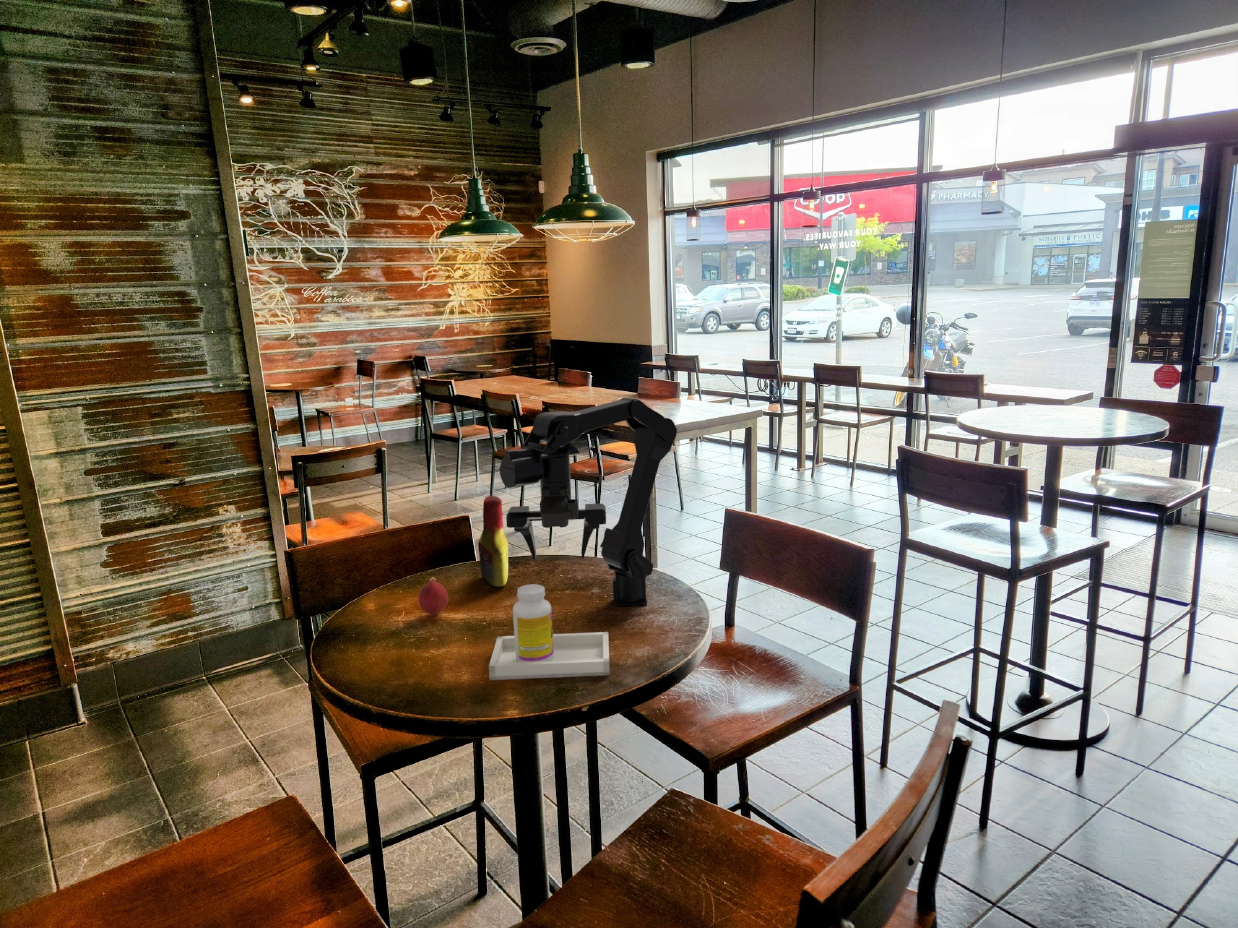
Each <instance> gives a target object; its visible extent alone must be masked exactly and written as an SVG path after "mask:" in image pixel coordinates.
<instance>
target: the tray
mask: <svg viewBox="0 0 1238 928" xmlns="http://www.w3.org/2000/svg"><path fill="white" fill-rule="evenodd" d="M609 640H610V639H609V632H608V631H603V632H602V631H600V632H598V631H597V632H575V633H574V632H573V633H553V646H554V656H553V658H552V659H551V660H550V661H538V662H518V661H517V660H516V654H515V638H514V635H504V636H503V635H502V636H497V638H496V640H495V645H494V649H493V651H492V654H491V658H490V660H489V664H488V673H489V681H501V680H505V681H506V680H522V679H523V680H527V679H545V678H546V679H548V678H550V679H551V678H552V679H553V678H572V677H573V678H574V677H575V678H576V677H597V676H599V677H601V676H610V674H611V672H610V644H609V642H610V641H609Z"/></svg>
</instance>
